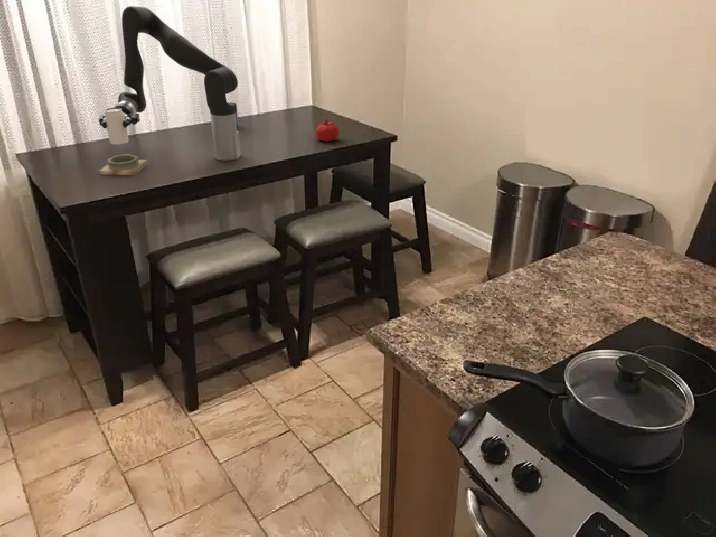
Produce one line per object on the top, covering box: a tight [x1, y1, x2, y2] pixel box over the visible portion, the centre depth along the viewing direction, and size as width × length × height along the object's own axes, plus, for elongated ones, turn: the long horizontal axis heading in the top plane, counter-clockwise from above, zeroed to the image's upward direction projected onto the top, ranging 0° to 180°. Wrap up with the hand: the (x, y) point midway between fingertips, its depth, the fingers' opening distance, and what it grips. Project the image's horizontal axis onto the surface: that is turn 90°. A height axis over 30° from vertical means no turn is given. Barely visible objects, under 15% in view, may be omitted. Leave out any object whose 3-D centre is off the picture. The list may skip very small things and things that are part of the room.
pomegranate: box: [315, 118, 340, 142], centre depth 256 cm, size 10×10×9 cm
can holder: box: [99, 153, 149, 176], centre depth 225 cm, size 13×13×4 cm
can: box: [104, 107, 129, 146], centre depth 218 cm, size 6×6×12 cm
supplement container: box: [228, 101, 239, 128], centre depth 272 cm, size 7×7×10 cm
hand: (114, 125), depth 216 cm, fingers closed on can, 6 cm apart
